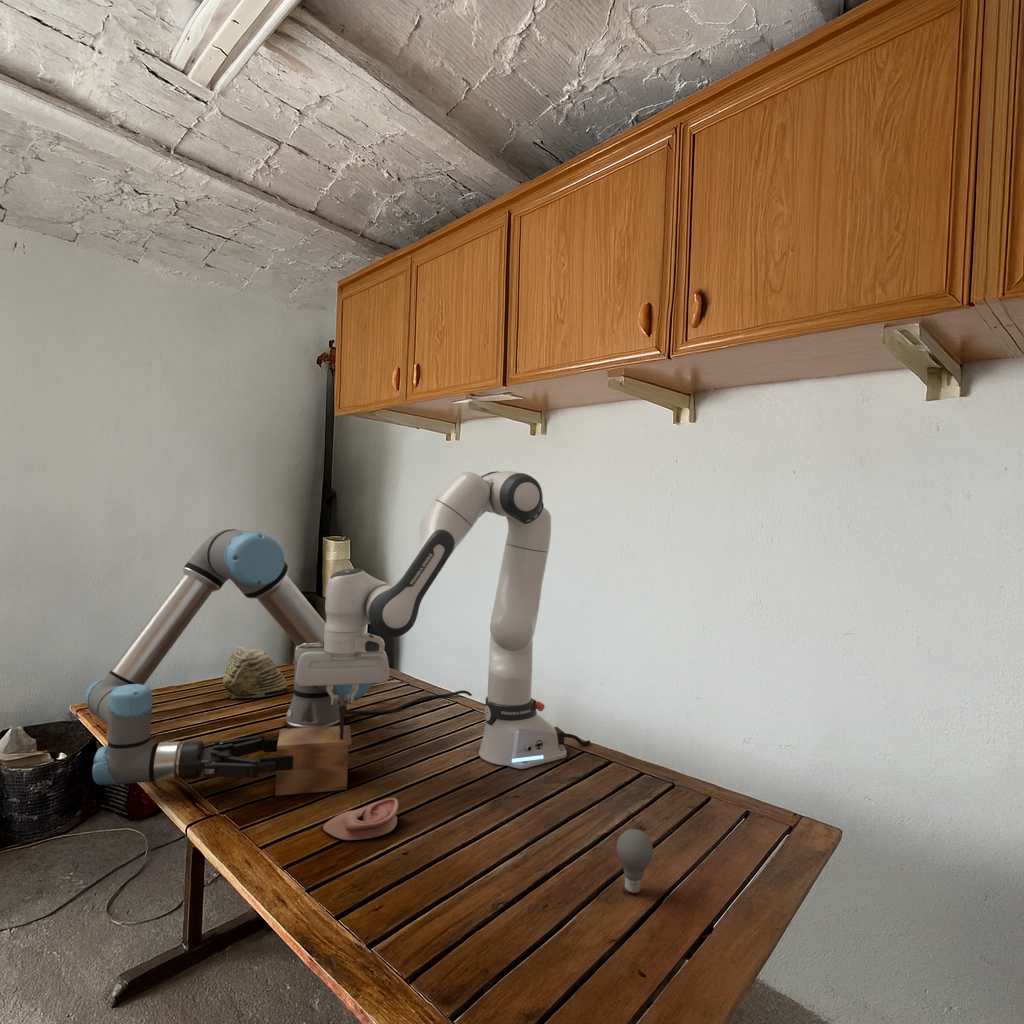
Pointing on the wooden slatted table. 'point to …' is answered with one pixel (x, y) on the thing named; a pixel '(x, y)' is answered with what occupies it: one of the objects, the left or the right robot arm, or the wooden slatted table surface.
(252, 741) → the left robot arm
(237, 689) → the fossil
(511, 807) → the wooden slatted table surface
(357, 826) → the anatomical model
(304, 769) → the chest
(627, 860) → the light bulb
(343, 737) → the lid
